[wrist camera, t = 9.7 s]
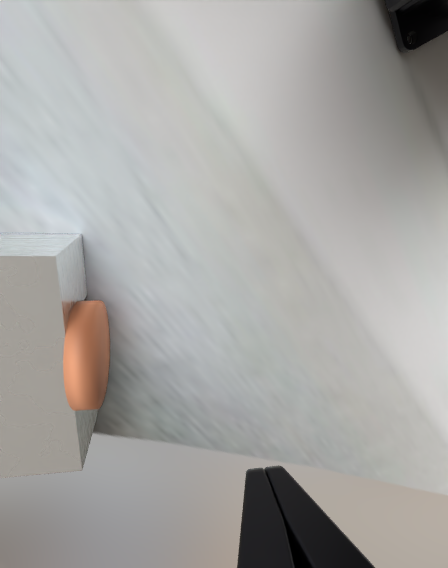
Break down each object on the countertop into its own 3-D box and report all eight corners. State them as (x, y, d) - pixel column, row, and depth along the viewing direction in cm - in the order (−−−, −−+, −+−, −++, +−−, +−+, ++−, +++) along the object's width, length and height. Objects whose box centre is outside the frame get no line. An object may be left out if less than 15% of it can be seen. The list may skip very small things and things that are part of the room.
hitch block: (81, 234, 17) (55, 256, 13) (98, 411, 21) (82, 470, 17) (-28, 232, 16) (-91, 255, 12) (9, 417, 20) (-30, 480, 16)
